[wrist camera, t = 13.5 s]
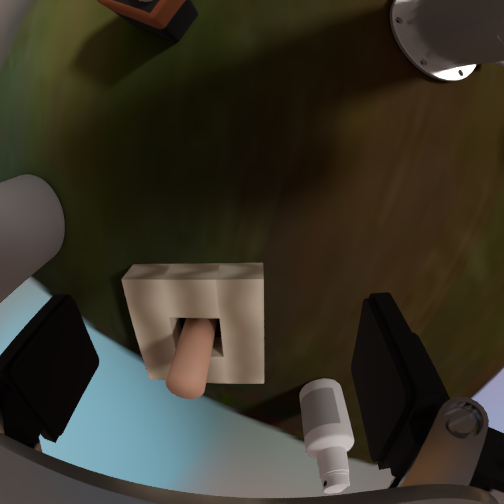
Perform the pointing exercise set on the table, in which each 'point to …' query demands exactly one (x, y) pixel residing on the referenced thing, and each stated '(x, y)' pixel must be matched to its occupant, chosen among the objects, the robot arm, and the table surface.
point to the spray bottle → (327, 431)
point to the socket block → (200, 315)
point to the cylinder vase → (27, 229)
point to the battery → (156, 15)
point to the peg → (192, 358)
